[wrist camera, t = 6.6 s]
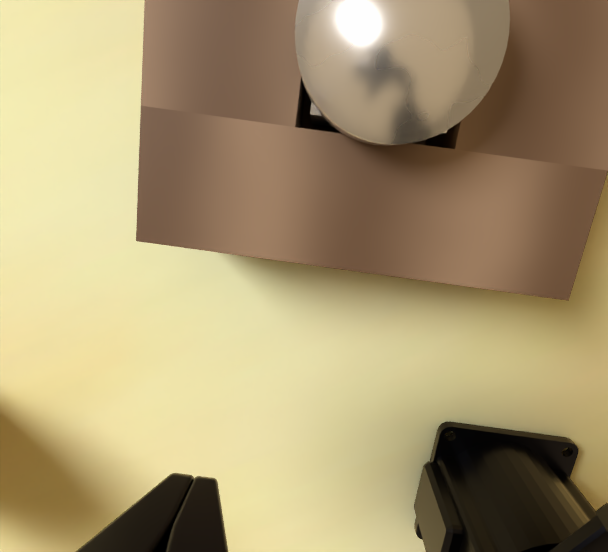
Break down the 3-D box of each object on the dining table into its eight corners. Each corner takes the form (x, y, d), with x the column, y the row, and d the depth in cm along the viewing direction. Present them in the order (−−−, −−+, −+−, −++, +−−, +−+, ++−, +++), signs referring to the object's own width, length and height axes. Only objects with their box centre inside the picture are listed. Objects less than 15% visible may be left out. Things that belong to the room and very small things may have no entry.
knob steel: (461, 3, 15) (534, -76, 10) (431, 157, 17) (481, 157, 12) (312, -19, 15) (310, -108, 10) (293, 138, 17) (282, 129, 12)
